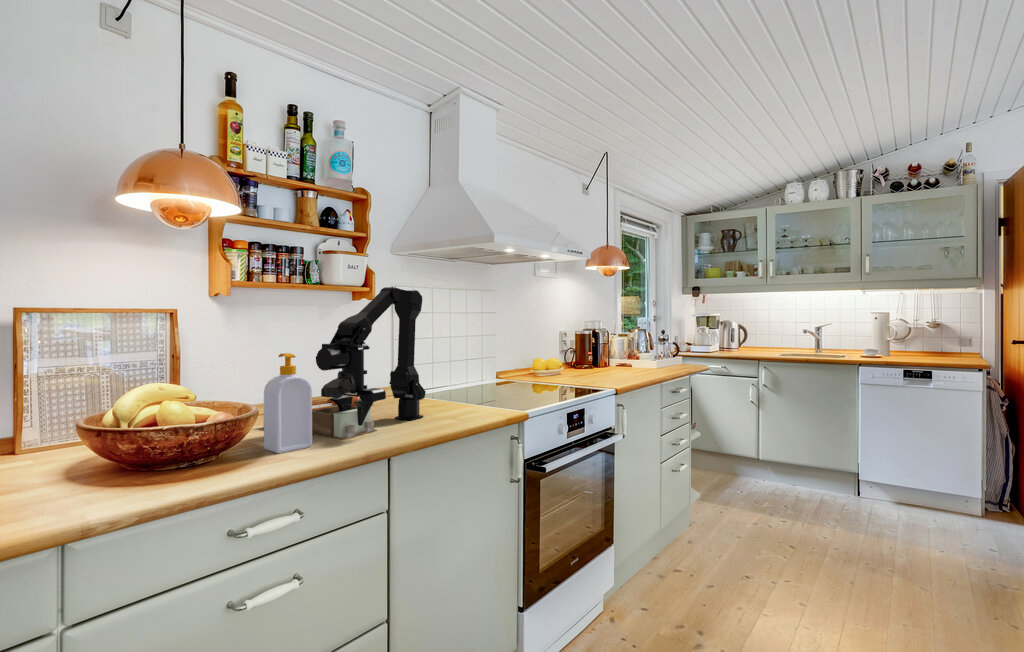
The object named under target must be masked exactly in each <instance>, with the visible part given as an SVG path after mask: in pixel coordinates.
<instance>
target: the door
mask: <svg viewBox="0 0 1024 652" xmlns="http://www.w3.org/2000/svg"><path fill="white" fill-rule="evenodd" d="M371 417H372V416H371V408H370V409H369V411H368V413H367V416H366V418H365V420H364V422H366V421H370V420H371ZM364 422H363V424H362V425H361V426H359V425H358V418H357V409H353V410H348V411H343V412H339V413H334V436H336V437H343V436H345V427H346V426H350V425H355V433H358V432H362V431H364Z"/></svg>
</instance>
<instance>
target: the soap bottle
mask: <svg viewBox="0 0 1024 652" xmlns="http://www.w3.org/2000/svg"><path fill="white" fill-rule="evenodd" d="M283 357H284V365H279V375H277V376H274V377H273V378H271V379H270V380H268V382H267V383H266V384H265V385H264V389H263V448H264V450H266V451H270V452H271V453H275V454H279V455H280V454H284V453H289V452H293V451H299V450H302V449H304V450H305V449H307V448H308V447H309V448H311V447H312V446H313V434H312V410H313V389H312V385H311V383H310V382H309V381H308V380H307V379H305V378H303V377H300V376H298V375H297V366H296V365H294V364H293V365H292V359H293V358H296V355H295V354H293V353H292V352H291V353H290V352H289V353H288V352H287V353H280V354H278V358H283Z"/></svg>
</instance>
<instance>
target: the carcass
mask: <svg viewBox="0 0 1024 652" xmlns="http://www.w3.org/2000/svg"><path fill="white" fill-rule="evenodd" d="M353 409H357V407H355V406H351V410H353ZM339 412H340V410H339V408H338V406H332V405H331V406H328V407H323V408H318V409H312V435H313V436H314V435H316V436H321V437H327V438H333V439H339V440H345V441H346V440H349V439H351V438H355V437H358V436H362V435H363V436H364V435H366V434H370V433H374V432H377V431H378V428H377V429H376V428H375V421H374V420H370V421H366V422H364V431H362V432H358V433H355V425H350V426H346V427H345V436H343V437H336V436H334V413H339Z"/></svg>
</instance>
